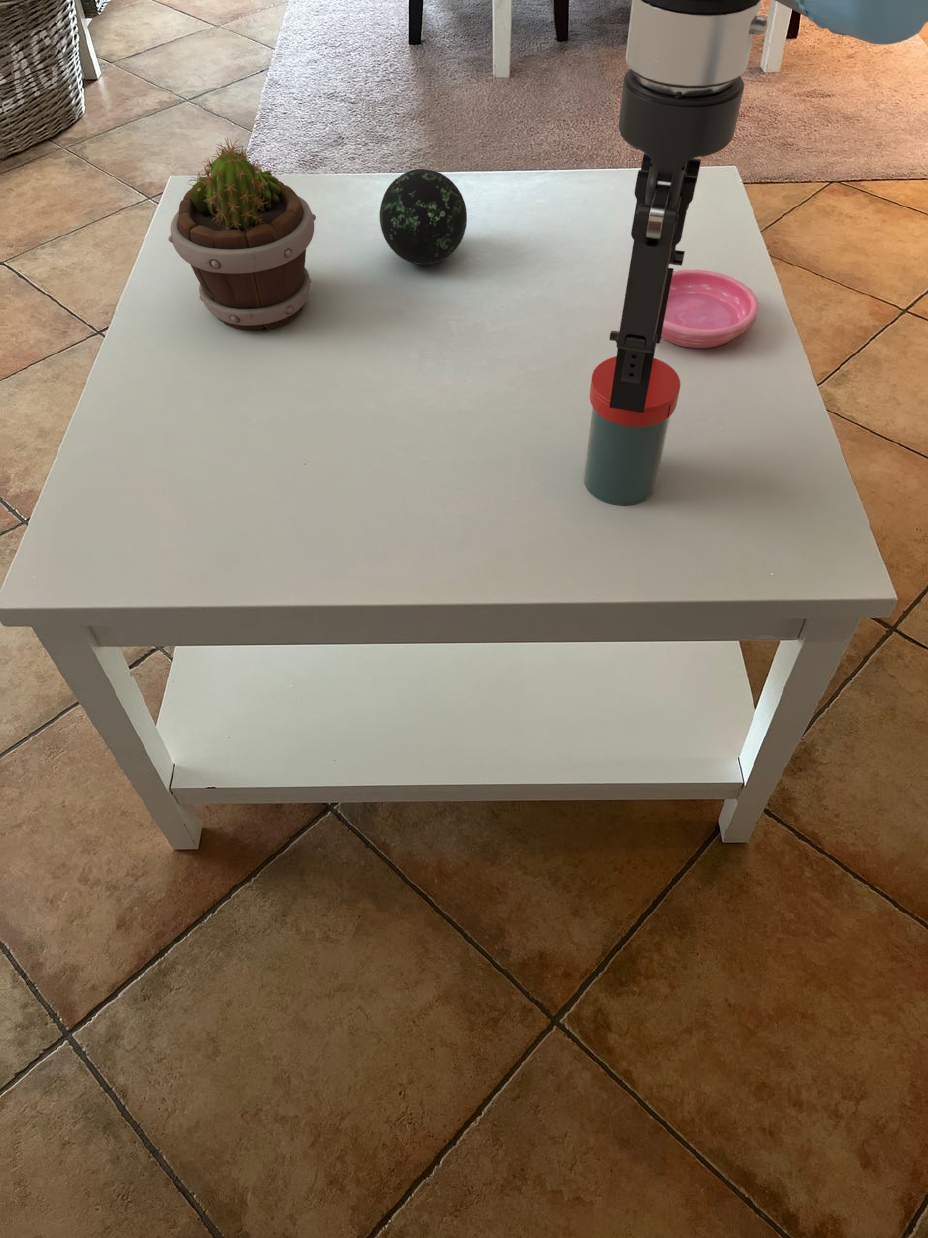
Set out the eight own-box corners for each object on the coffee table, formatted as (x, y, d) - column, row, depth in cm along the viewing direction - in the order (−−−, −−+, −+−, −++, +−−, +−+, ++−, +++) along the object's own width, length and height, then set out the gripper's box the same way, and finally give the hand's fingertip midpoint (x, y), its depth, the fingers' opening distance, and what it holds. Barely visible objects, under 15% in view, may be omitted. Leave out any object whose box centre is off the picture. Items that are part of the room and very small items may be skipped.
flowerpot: (192, 279, 106) (142, 94, 91) (323, 265, 108) (297, 82, 92) (189, 352, 97) (133, 161, 82) (332, 336, 99) (305, 146, 83)
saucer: (644, 286, 104) (648, 260, 102) (755, 300, 102) (762, 274, 100) (628, 349, 97) (632, 323, 94) (748, 365, 95) (755, 339, 92)
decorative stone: (482, 266, 107) (483, 181, 100) (406, 290, 104) (400, 204, 97) (443, 228, 113) (440, 145, 105) (369, 250, 110) (361, 165, 102)
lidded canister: (670, 480, 84) (691, 384, 76) (625, 516, 81) (641, 421, 73) (614, 446, 87) (629, 351, 79) (569, 480, 84) (578, 385, 76)
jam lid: (694, 398, 77) (699, 380, 75) (640, 439, 74) (644, 420, 72) (626, 362, 80) (629, 343, 79) (571, 399, 77) (573, 380, 75)
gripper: (731, 155, 50) (664, 465, 68) (758, 14, 63) (696, 306, 81) (596, 140, 51) (565, 448, 69) (649, 5, 64) (612, 294, 82)
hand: (635, 371), depth 75 cm, fingers open, 9 cm apart
